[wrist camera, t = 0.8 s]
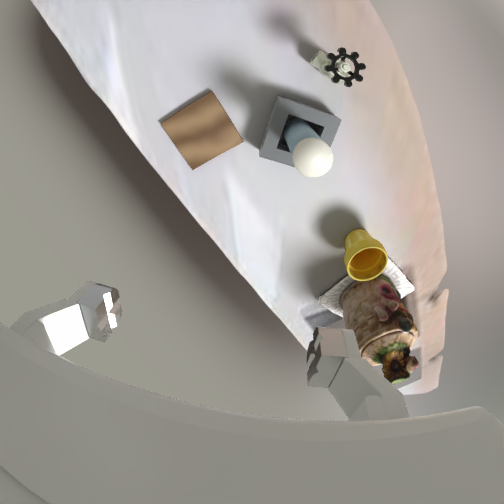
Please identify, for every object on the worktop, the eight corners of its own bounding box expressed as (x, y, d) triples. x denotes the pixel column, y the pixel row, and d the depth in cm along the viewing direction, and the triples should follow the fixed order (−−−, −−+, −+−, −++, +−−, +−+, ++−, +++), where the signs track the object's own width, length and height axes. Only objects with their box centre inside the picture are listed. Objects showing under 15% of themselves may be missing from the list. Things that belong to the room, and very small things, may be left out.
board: (162, 123, 49) (160, 124, 48) (212, 91, 45) (211, 91, 44) (193, 168, 55) (192, 170, 54) (243, 140, 51) (243, 142, 51)
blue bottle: (287, 114, 48) (301, 133, 34) (315, 123, 49) (339, 147, 35) (278, 140, 51) (287, 170, 38) (305, 149, 52) (324, 182, 39)
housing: (277, 95, 45) (279, 97, 42) (335, 115, 47) (341, 120, 44) (259, 149, 52) (259, 156, 49) (314, 166, 54) (318, 175, 51)
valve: (331, 89, 44) (350, 95, 35) (303, 69, 42) (316, 69, 32) (349, 65, 40) (373, 66, 31) (321, 45, 38) (340, 39, 29)
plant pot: (329, 248, 68) (338, 274, 60) (351, 216, 62) (364, 240, 54) (360, 260, 70) (371, 286, 62) (382, 231, 64) (396, 255, 56)
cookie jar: (357, 326, 88) (377, 409, 63) (313, 296, 79) (330, 398, 54) (415, 286, 77) (452, 370, 51) (380, 245, 67) (428, 347, 42)
